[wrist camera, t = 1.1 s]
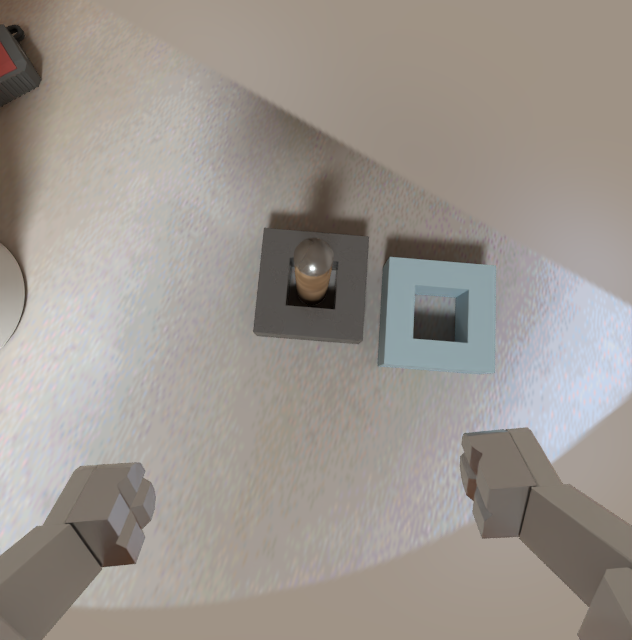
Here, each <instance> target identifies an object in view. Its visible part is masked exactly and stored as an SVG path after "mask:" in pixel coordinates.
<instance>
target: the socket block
mask: <svg viewBox="0 0 632 640" xmlns="http://www.w3.org/2000/svg"><path fill="white" fill-rule="evenodd" d="M308 238H319V239H322V240H324V241H325V242H327V243H328V244H329V245H330V247H331V248H332V250H333V254H334V260H333V265H332V270H336V283H335V296H334V309H324V308H312V307H300V306H287V305H288V294H289V283H290V272H291V267H294V251H295V249H296V247H297V246H298V244H299V243H300V242H302V241H303V240H305V239H308ZM368 242H369V237H368V236H356V235H344V234H332V233H320V232H308V231H296V230H284V229H272V228H264V233H263V243H262V253H261V262H260V272H259V282H258V291H257V301H256V311H255V320H254V330H253V332H254V333H255V334H256V335H257V336H264V337H276V338H289V339H301V340H314V341H326V342H338V343H351V344H359V343H360V342H362V340H363V324H364V308H365V291H366V275H367V259H368Z"/></svg>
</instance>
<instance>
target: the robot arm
mask: <svg viewBox="0 0 632 640" xmlns="http://www.w3.org/2000/svg"><path fill="white" fill-rule="evenodd" d="M24 299H25V287H24V280H23V276H22V272H21V270H20V267H19V265H18V263H17V261H16V260H15V258H14V257H13V255H12V254H11V253H10V252H9V250H8V249H7V248H6V247H5V246H3V245H2V244H1V243H0V349H1V348H2V347H3V346H4V345H5V343H6V342H7V341H8V340H9V338H10V337H11V335H12V334H13V332H14V330H15V329H16V327H17V325H18V322H19V320H20V317H21V314H22V311H23V306H24ZM462 447H463V449H464V453H463V454H462V455H461V456H460V471H461V478H462V482H463V486H464V489H465V492H466V495H467V496H468V497H469V498H470V499H472V500H473V501H474V503H473V515H474V518H475V521H476V523H477V526H478V529H479V531H480V534H481V537H482V538H505V537H520V538H519V539H520V540H521V541H522V542H523V543H524V544H525V545H526V546H527V547H528V548H529V549H530V550H531V551H532V552H533V553H534V554H535V555H536V556H537V557H538V558H539V559H540V560H541V561H543V562H544V564H546V566H547V567H549V568H550V569H551V570H552V571H553V572H554V573H555V574H556V575H557V576H558V577H559V578H560V579H561V580H562V581H563V582H564V583H565V584H566V585H567V586H568V587H569V588H570V589H571V590H572V591H573V592H574V593H575V594H576V595H577V596H578V597H579V598H580V599H581V600H582V601H583V602H584V603H585V604H586V605H587V606H588V607H589V609H588V611H587V614H586V616H585V618H584V620H583V622H582V625H581V627H580V629H579V631H578V633H577V635H578V637H579V639H580V640H632V525H630V524H629V523H627V522H626V521H624V520H623V519H621V518H620V517H618V516H617V515H615V514H614V513H612V512H610V511H609V510H608V509H606V508H605V507H603V506H602V505H600V504H599V503H597V502H596V501H594V500H593V499H591V498H590V497H588V496H587V495H585V494H584V493H582V492H581V491H579V490H578V489H576V488H575V487H573V486H572V485H570V484H563V483H562V482H561V480H560V478H559V477H558V475H557V473H556V471H555V470H554V468H553V466H552V465H551V463H550V461H549V460H548V458H547V456H546V455H545V453H544V451H543V450H542V448H541V446H540V445H539V443H538V441H537V439H536V438H535V436H534V434H533V433H532V431H531V430H530V429H528V428H516V429H506V430H504V429H502V430H492V431H482V432H472V433H464V434H463V436H462ZM144 474H145V469H144V468H143V466H142V464H141V463H136V462H135V463H118V464H102V465H89V466H80V467H79V468H77V469H76V470H75V471H74V472H73V474H72V476H71V477H70V479H69V481H68V483H67V484H66V486H65V488H64V489H63V491H62V493H61V495H60V496H59V498H58V500H57V501H56V503H55V505H54V507H53V508H52V510H51V512H50V514H49V515H48V517H47V519H46V520H45V522H44V524H43V526H36V527H35V528H34V529H33V530H31V531H30V532H29V533H28V534H26V535H25V536H24V537H23V538H22V539H20V540H19V541H18V542H17V543H15V544H14V545H13V546H12V547H11V548H9V549H8V550H7V551H6V552H4V553H3V554H2V555H1V556H0V640H42V639H43V638H44V637H45V636H46V635H47V633H48V632H49V631H50V630H51V629H52V628H53V626H54V625H55V624H56V623H57V622H58V621H59V619H60V618H61V617H62V616H63V615H64V614H65V612H66V611H67V610H68V609H69V608H70V607H71V605H72V604H73V603H74V602H75V601H76V599H77V598H78V597H79V596H80V595H81V594H82V592H83V591H84V590H85V589H86V588H87V587H88V585H89V584H90V583H91V582H92V581H93V580H94V578H95V577H96V576H97V575H98V574H99V573H100V571H101V570H102V568H101V567H110V566H119V565H129V564H136V562H137V559H138V556H139V553H140V551H141V548H142V545H143V542H144V539H145V535H144V533H143V530H142V529H143V528H144V527H145V526H146V525H147V524H148V523H149V522H150V521H151V519H152V516H153V513H154V510H155V500H156V496H155V490H154V487H153V485H152V483H151V482H150V481H148V480H146V479H145V478H143V476H144Z"/></svg>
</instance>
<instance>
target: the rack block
mask: <svg viewBox="0 0 632 640" xmlns="http://www.w3.org/2000/svg"><path fill="white" fill-rule="evenodd" d="M415 294H420V295H432V296H444V297H456V311H455V342H448V341H436V340H424V339H413V327H414V303H415ZM495 321H496V266H494V265H482V264H470V263H458V262H446V261H434V260H422V259H410V258H398V257H389V259H388V260H387V262H386V264H385V265H384V267H383V277H382V295H381V314H380V332H379V350H378V366H383V367H395V368H408V369H420V370H433V371H445V372H457V373H470V374H488V373H495Z"/></svg>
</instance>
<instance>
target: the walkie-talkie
mask: <svg viewBox="0 0 632 640" xmlns="http://www.w3.org/2000/svg"><path fill="white" fill-rule="evenodd" d="M16 32H18V33H17V34H15V35H14V36H13V35H12V34H13V33H16ZM24 37H25V35H24V31H23V30H22V29H21V28H20V27H19V26H18V25H12V26H8V27H5V26H4V25H0V106H2V105H3V104H7V102H9V101H10V102H11V101H12V100H13V99H16V98H17V97H20V96H21V95H22V94H26V92H30V90H32V89H33V90H34V89H35V88H36V87H39V85H40V82H41V78H40V76H39V75H38V73H37V71H36V70H35V68H34V67H33V65H32V63H31V62H30V60H29V58H28V57H27V55H26V54H25V52H24V50H23V49H22V47H21V45H20V44H19V42H20V41H22V40H23V39H24Z"/></svg>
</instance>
